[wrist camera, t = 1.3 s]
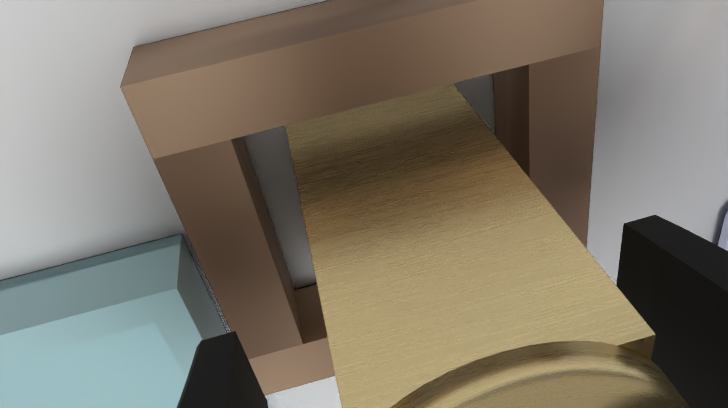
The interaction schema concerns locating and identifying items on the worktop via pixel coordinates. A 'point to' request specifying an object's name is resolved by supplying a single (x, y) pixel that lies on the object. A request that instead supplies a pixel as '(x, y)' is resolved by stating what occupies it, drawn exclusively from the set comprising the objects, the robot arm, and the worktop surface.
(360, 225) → the brass pin
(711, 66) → the worktop surface
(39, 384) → the tray
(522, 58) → the holder block
